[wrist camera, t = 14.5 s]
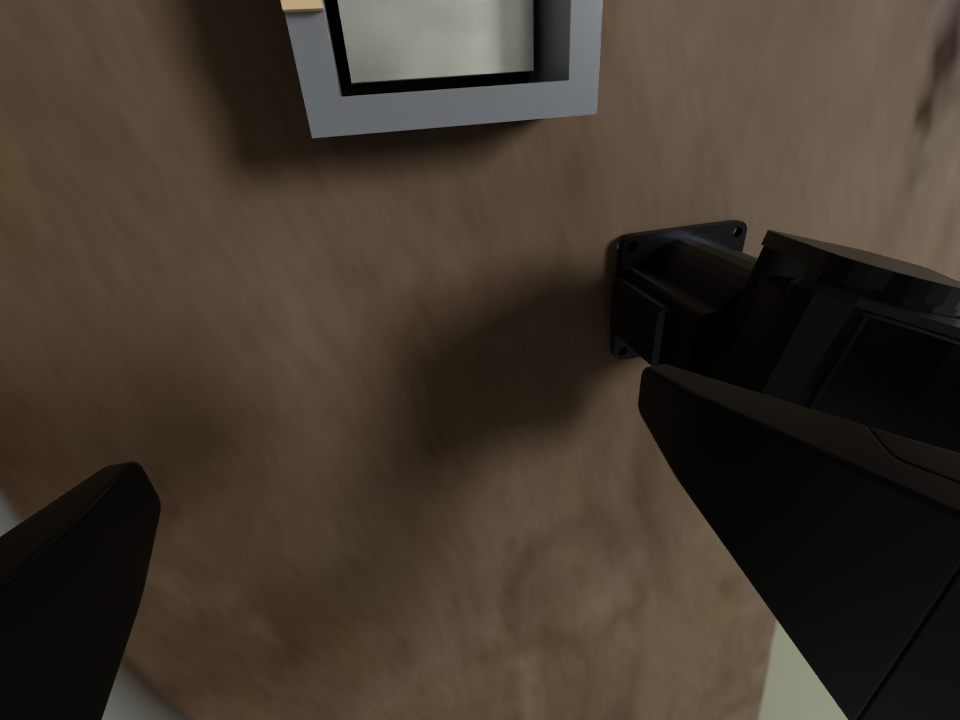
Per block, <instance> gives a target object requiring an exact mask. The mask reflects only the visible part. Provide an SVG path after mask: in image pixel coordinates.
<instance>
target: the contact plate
mask: <svg viewBox="0 0 960 720" xmlns="http://www.w3.org/2000/svg"><path fill="white" fill-rule="evenodd" d="M337 1H338V7H339V12H340V18H341V24H342V30H343V36H344V41H345V47H346V53H347V59H348V65H349V70H350V76H351V82H352V84H367V83H382V82H396V81H411V80H426V79H440V78H455V77H470V76H485V75H499V74H514V73H524V72H529V71H534V46H533V0H337Z"/></svg>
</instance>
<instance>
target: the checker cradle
mask: <svg viewBox="0 0 960 720" xmlns="http://www.w3.org/2000/svg"><path fill="white" fill-rule="evenodd" d="M281 5H282V9H283V11H284V12H285V16H286V21H287V26H288V30H289V35H290V39H291V44H292V48H293V53H294V58H295V62H296V67H297V71H298V76H299V80H300V85H301V90H302V94H303V99H304V103H305V108H306V112H307V117H308V121H309V126H310V131H311V135H312V138H321V137H333V136H345V135H357V134H368V133H380V132H392V131H403V130H415V129H427V128H438V127H450V126H462V125H473V124H485V123H497V122H508V121H520V120H532V119H543V118H555V117H567V116H578V115H590V114H597V104H598V84H599V65H600V45H601V25H602V6H603V0H533V46H534V71H529V72H528V83H525V84H511V85H497V86H483V87H470V88H456V89H442V90H428V91H414V92H400V93H386V94H372V95H358V96H344V97H343V96H342V91H341V85H340V80H339V75H338V69H337V64H336V58H335V53H334V47H333V42H332V36H331V31H330V25H329V20H328V14H327V9H326V3H325V0H281Z"/></svg>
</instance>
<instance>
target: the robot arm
mask: <svg viewBox="0 0 960 720" xmlns="http://www.w3.org/2000/svg"><path fill="white" fill-rule="evenodd" d="M735 228H737V230H736V232H735V233H734V234H733V231H734V229H735ZM746 232H747V226H746V224H745V223H744V222H742V221H739V220H728V221H721V222H713V223H706V224H698V225H691V226H683V227H676V228H668V229H661V230H653V231H646V232H638V233H631V234H627V235H625V236H624V237H623V238H622V239H621V240H620V243H619V249H618V261H617V273H616V280H615V282H614V283H613V289H612V302H611V315H610V330H611V331H612V335H611V348H610V350H611V353H612V355H613V356H614V357H615V358H617V359H619V360H622V359H628V358H633V357H639V356H641V357H642V358H643V359H644V360H645V361H647V362H648V363H649V364H650V365H651V366H650V367H646V368H645V369H644V370H643V372H642V376H641V383H640V391H639V399H638V407H639V411H640V414H641V416H642V418H643V420H644V422H645V423H646V425H647V427H648V429H649V430H650V432H651V434H652V436H653V438H654V439H655V441H656V443H657V445H658V447H659V448H660V450H661V452H662V454H663V455H664V457H665V459H666V461H667V463H668V464H669V466H670V468H671V469H672V471H673V473H674V474H675V476H676V478H677V479H678V481H679V482H680V484H681V485H682V487H683V488H684V489H685V491H686V492H687V494H688V495H689V496H690V498H691V499H692V501H693V502H694V503H695V505H696V506H697V508H698V509H699V510H700V512H701V513H702V515H703V516H704V518H705V519H706V520H707V522H708V523H709V525H710V526H711V527H712V529H713V530H714V532H715V533H716V534H717V536H718V537H719V539H720V540H721V541H722V543H723V544H724V546H725V547H726V548H727V550H728V551H729V553H730V554H731V555H732V557H733V558H734V560H735V561H736V563H737V564H738V565H739V567H740V568H741V570H742V571H743V572H744V574H745V575H746V577H747V578H748V579H749V581H750V582H751V584H752V585H753V586H754V588H755V589H756V591H757V592H758V593H759V595H760V596H761V598H762V599H763V600H764V602H765V603H766V605H767V606H768V608H769V609H770V610H771V612H772V613H773V615H774V616H775V617H776V619H777V620H778V622H779V623H780V624H781V626H782V627H783V629H784V630H785V631H786V633H787V634H788V636H789V637H790V638H791V640H792V641H793V643H794V644H795V645H796V647H797V648H798V650H799V651H800V652H801V654H802V655H803V657H804V658H805V659H806V661H807V662H808V664H809V665H810V667H811V668H812V669H813V671H814V672H815V674H816V675H817V676H818V678H819V679H820V681H821V682H822V683H823V685H824V686H825V688H826V689H827V690H828V692H829V693H830V695H831V696H832V697H833V699H834V700H835V702H836V703H837V705H838V706H839V707H840V709H841V710H842V712H843V713H844V714H845V716H846V717H847V719H848V720H960V282H959V281H956V280H954V279H952V278H949V277H947V276H945V275H942V274H940V273H938V272H935V271H933V270H930V269H928V268H925V267H922V266H919V265H915V264H911V263H908V262H904V261H900V260H897V259H893V258H889V257H886V256H882V255H878V254H875V253H871V252H867V251H863V250H859V249H855V248H851V247H846V246H841V245H837V244H832V243H827V242H823V241H818V240H813V239H809V238H804V237H799V236H795V235H790V234H785V233H781V232H776V231H771V230H768V231H767V233H766V235H765V237H764V239H763V242H762V245H764V247H763V249H762V251H761V253H760V255H759V257H758V258H755V257H753V256H750V255H748V254H745V253H742V251H743V246H744V241H745V237H746ZM632 241H633V243H634V244H633V247H632V248H631V249H629V250H628V245H629V243H630V242H632ZM622 347H623V350H622V351H620V352H618V351H619V349H620V348H622ZM160 511H161V504H160V499H159V496H158V494H157V492H156V491H155V489H154V487H153V485H152V483H151V481H150V480H149V478H148V476H147V474H146V472H145V471H144V469H143V467H142V466H141V465H140V464H139V463H137V462H134V461H131V462H125V463H120V464H114V465H109V466H107V467H104V468H103V469H101V470H100V471H98V472H97V473H95V474H94V475H92V476H91V477H89V478H88V479H86V480H85V481H83V482H82V483H80V484H79V485H77V486H76V487H74V488H73V489H71V490H70V491H68V492H67V493H65V494H64V495H62V496H61V497H59V498H58V499H56V500H55V501H53V502H52V503H50V504H49V505H47V506H46V507H44V508H43V509H41V510H40V511H38V512H37V513H35V514H34V515H32V516H31V517H29V518H28V519H26V520H25V521H23V522H22V523H20V524H19V525H17V526H16V527H14V528H13V529H11V530H10V531H8V532H7V533H6V534H4V535H2V536H1V537H0V720H101V719H102V716H103V714H104V710H105V707H106V705H107V702H108V699H109V696H110V692H111V689H112V687H113V684H114V680H115V677H116V675H117V671H118V669H119V665H120V663H121V660H122V657H123V654H124V651H125V648H126V645H127V642H128V639H129V636H130V633H131V630H132V627H133V624H134V621H135V618H136V615H137V612H138V608H139V605H140V602H141V599H142V595H143V591H144V587H145V582H146V578H147V573H148V568H149V563H150V559H151V554H152V549H153V545H154V540H155V535H156V530H157V526H158V521H159V516H160Z"/></svg>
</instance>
